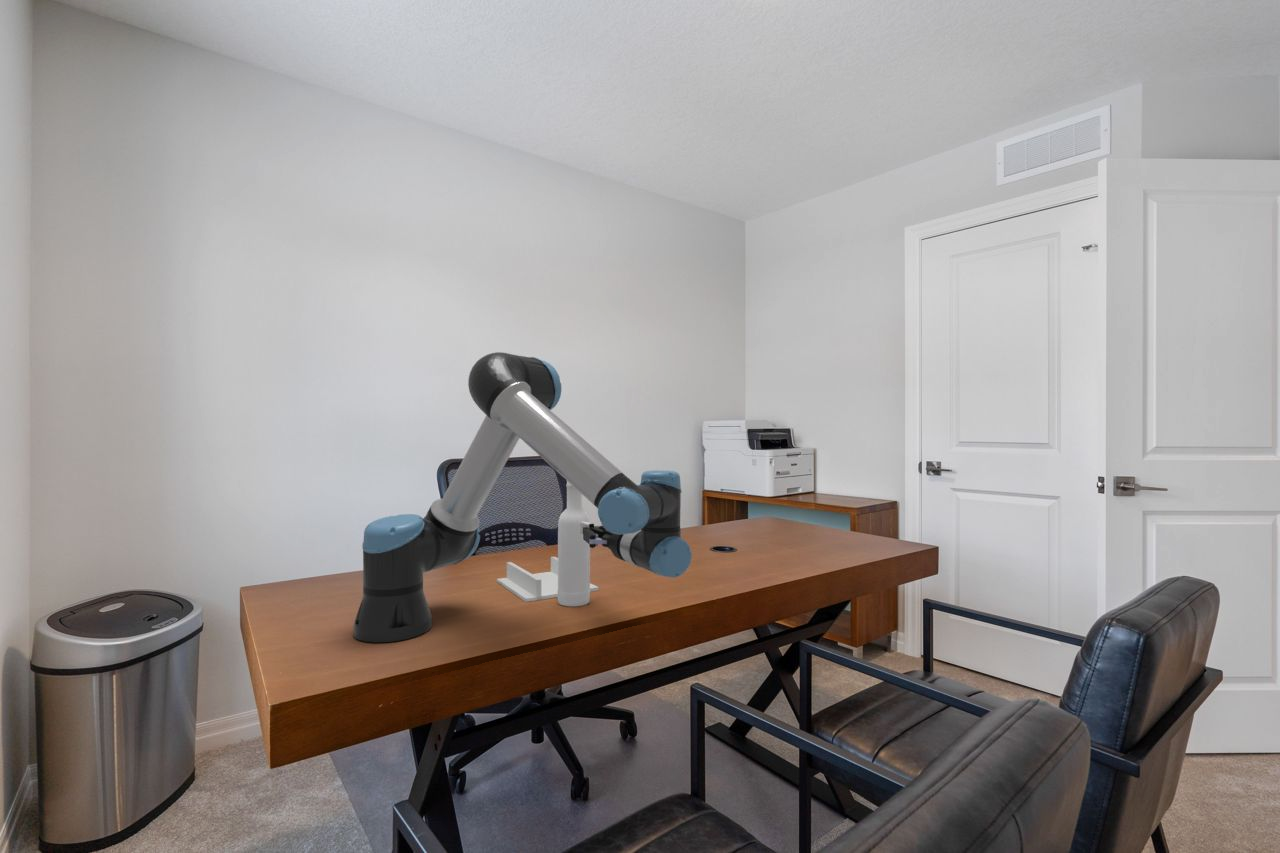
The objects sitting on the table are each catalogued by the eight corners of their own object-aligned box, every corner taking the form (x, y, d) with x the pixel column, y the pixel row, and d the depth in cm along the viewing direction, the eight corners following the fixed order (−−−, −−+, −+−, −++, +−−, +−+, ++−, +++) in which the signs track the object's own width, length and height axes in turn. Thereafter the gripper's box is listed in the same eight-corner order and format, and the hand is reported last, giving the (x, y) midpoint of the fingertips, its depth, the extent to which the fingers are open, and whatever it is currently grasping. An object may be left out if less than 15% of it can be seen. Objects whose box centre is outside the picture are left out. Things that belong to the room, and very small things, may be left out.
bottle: (588, 607, 141) (588, 480, 141) (555, 606, 141) (555, 480, 141) (591, 597, 149) (592, 477, 149) (560, 597, 149) (560, 477, 149)
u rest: (598, 590, 155) (598, 571, 155) (526, 602, 145) (526, 581, 145) (563, 572, 174) (563, 555, 174) (496, 581, 163) (496, 563, 163)
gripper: (660, 523, 124) (607, 509, 144) (606, 529, 117) (557, 513, 137) (660, 559, 124) (606, 540, 144) (605, 566, 117) (557, 546, 137)
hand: (582, 527), depth 141 cm, fingers closed
